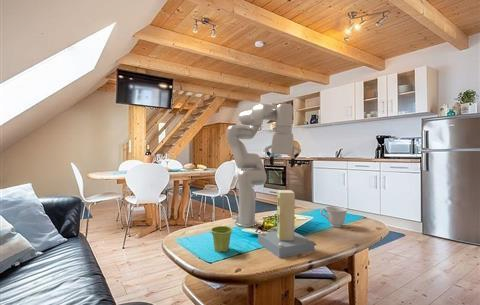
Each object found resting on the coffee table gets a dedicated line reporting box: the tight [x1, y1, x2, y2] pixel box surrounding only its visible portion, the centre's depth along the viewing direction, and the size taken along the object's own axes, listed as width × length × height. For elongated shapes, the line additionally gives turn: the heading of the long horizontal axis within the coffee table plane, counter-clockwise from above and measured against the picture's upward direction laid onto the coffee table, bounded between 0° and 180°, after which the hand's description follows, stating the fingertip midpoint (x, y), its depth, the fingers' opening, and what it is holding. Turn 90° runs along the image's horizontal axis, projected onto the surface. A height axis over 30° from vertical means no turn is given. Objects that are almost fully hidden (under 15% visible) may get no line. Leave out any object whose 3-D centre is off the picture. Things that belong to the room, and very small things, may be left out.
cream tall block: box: [276, 189, 296, 241], centre depth 116 cm, size 8×7×21 cm
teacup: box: [319, 205, 349, 228], centre depth 149 cm, size 12×15×10 cm
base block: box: [257, 230, 315, 259], centre depth 116 cm, size 18×18×5 cm
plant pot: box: [210, 225, 234, 252], centre depth 111 cm, size 9×9×9 cm
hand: (281, 166), depth 123 cm, fingers open, 9 cm apart
